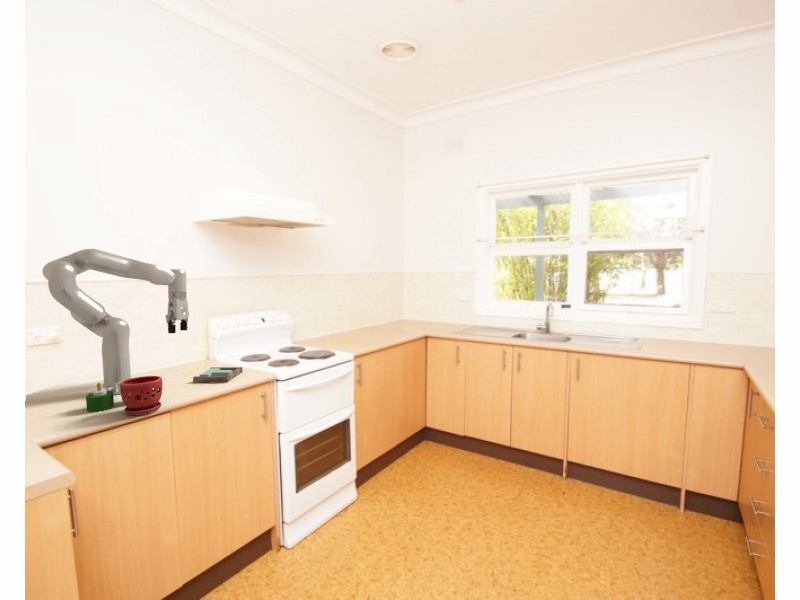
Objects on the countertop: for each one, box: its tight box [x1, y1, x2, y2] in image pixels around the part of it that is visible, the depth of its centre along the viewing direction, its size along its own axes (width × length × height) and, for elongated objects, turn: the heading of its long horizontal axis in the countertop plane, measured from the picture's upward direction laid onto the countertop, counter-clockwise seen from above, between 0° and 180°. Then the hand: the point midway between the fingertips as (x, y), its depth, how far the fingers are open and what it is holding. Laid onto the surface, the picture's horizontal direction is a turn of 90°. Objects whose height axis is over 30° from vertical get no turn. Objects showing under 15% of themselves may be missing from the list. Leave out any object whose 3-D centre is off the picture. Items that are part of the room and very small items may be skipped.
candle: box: [85, 382, 115, 413], centre depth 153 cm, size 8×8×10 cm
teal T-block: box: [199, 367, 233, 376], centre depth 195 cm, size 12×12×3 cm
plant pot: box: [120, 375, 163, 416], centre depth 150 cm, size 13×13×12 cm
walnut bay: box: [192, 366, 243, 383], centre depth 195 cm, size 18×16×2 cm
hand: (178, 331), depth 193 cm, fingers open, 9 cm apart
